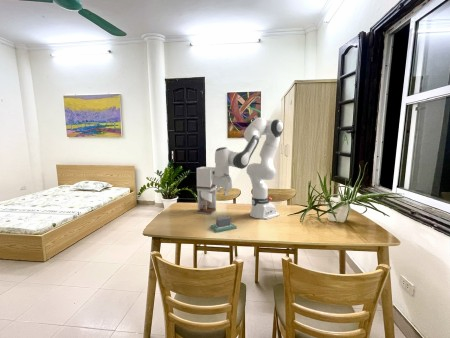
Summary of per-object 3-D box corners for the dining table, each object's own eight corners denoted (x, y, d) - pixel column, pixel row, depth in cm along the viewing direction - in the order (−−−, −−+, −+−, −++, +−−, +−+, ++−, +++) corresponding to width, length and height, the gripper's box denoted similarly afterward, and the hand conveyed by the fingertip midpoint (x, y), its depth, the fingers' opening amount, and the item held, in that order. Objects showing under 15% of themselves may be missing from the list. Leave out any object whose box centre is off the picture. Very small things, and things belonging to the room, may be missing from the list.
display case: (197, 213, 176) (196, 168, 171) (203, 209, 185) (202, 166, 181) (210, 214, 172) (210, 169, 167) (216, 210, 181) (215, 167, 177)
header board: (229, 223, 154) (229, 221, 154) (236, 228, 145) (236, 226, 145) (210, 227, 148) (210, 224, 147) (216, 232, 139) (216, 230, 139)
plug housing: (227, 223, 150) (227, 216, 149) (230, 225, 146) (230, 218, 145) (216, 225, 146) (216, 217, 145) (218, 227, 142) (218, 220, 142)
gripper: (234, 174, 138) (234, 196, 140) (219, 170, 156) (219, 189, 158) (225, 175, 135) (225, 198, 137) (211, 171, 153) (211, 191, 155)
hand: (222, 193), depth 148 cm, fingers open, 8 cm apart
